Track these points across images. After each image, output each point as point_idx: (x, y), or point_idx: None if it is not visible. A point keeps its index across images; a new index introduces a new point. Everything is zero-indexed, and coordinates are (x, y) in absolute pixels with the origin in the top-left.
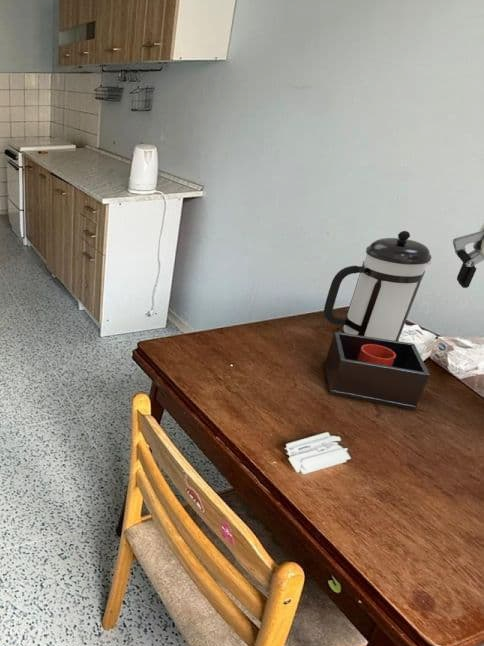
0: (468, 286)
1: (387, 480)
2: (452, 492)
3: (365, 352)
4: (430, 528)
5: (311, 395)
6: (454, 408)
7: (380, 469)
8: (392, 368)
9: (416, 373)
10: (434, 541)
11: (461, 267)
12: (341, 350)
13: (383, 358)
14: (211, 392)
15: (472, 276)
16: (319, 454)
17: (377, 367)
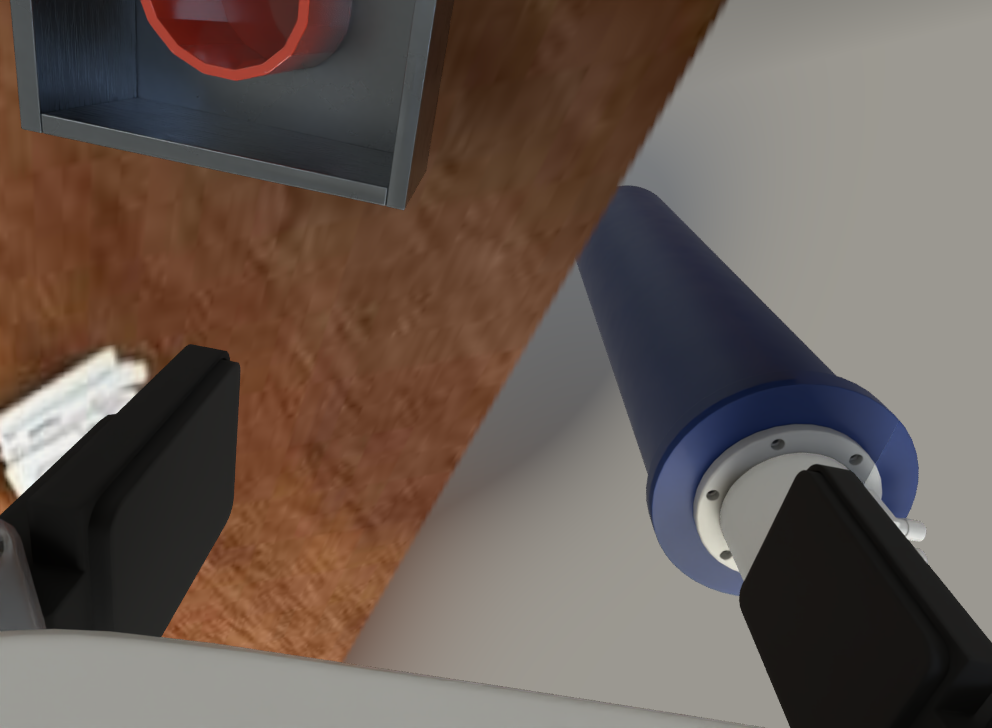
0: (221, 525)
1: (242, 505)
2: (380, 517)
3: (149, 15)
4: (293, 610)
5: None
6: (583, 129)
7: None
8: (252, 177)
9: (353, 198)
10: (290, 634)
11: (19, 507)
12: (24, 10)
13: (232, 74)
14: None
15: (169, 608)
16: None
17: (193, 163)
